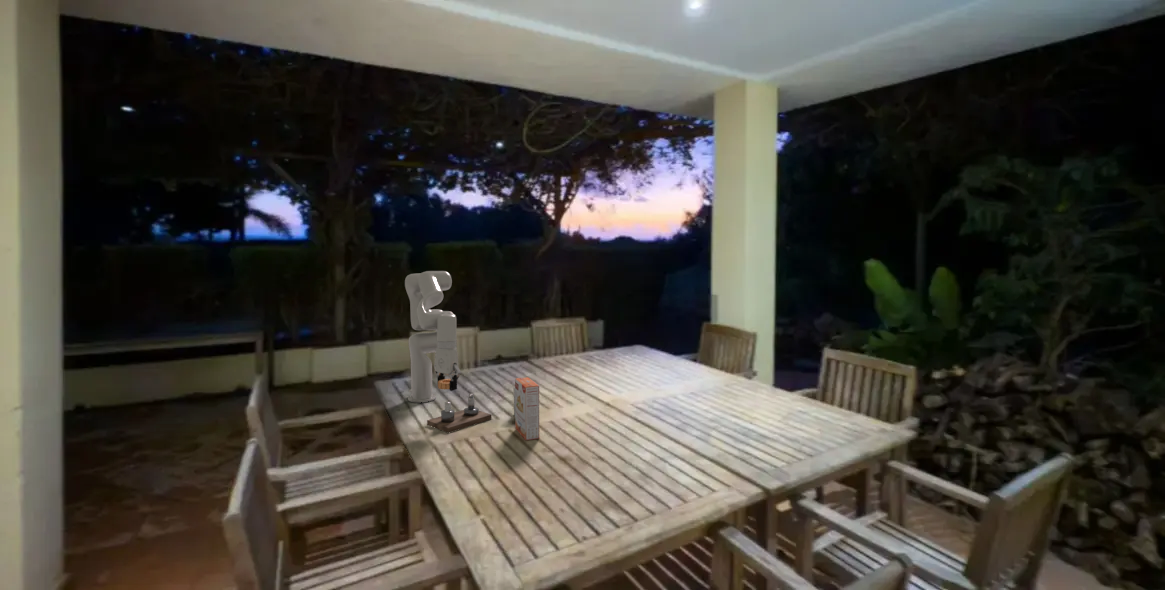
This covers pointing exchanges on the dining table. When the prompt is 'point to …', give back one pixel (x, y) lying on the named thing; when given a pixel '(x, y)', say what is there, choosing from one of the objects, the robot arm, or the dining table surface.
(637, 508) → the dining table surface
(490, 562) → the dining table surface
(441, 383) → the ring
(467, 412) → the hub
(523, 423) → the cracker box
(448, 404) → the gray oval domed knob
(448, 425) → the base board
